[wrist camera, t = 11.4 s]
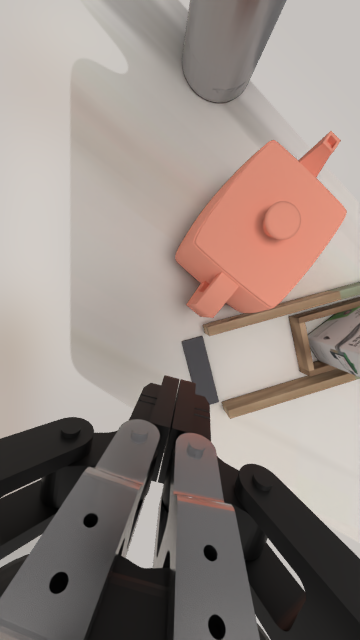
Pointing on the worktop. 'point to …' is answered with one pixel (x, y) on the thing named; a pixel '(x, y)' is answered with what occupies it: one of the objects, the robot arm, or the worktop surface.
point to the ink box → (339, 341)
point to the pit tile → (200, 368)
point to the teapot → (261, 230)
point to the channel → (293, 387)
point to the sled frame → (302, 338)
